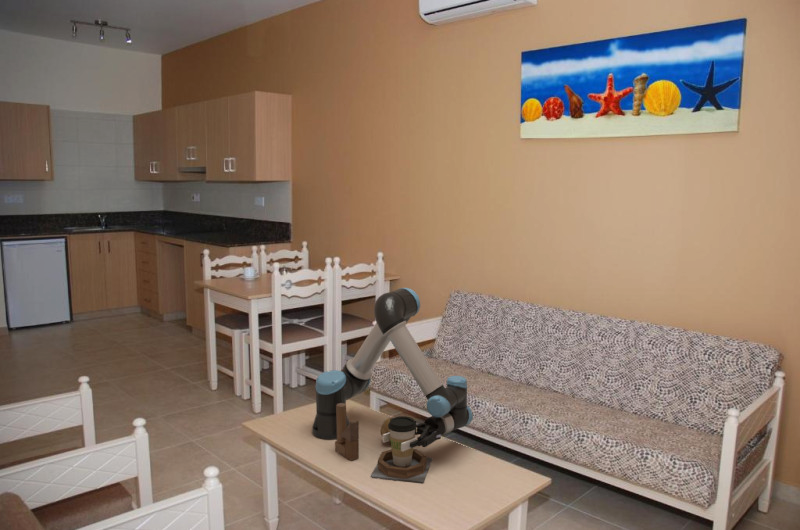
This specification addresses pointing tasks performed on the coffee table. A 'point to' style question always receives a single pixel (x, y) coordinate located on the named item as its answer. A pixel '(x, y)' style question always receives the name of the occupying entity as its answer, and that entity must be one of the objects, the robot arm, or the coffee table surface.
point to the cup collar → (402, 468)
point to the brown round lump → (385, 427)
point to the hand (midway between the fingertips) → (392, 443)
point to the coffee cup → (401, 439)
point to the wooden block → (346, 435)
